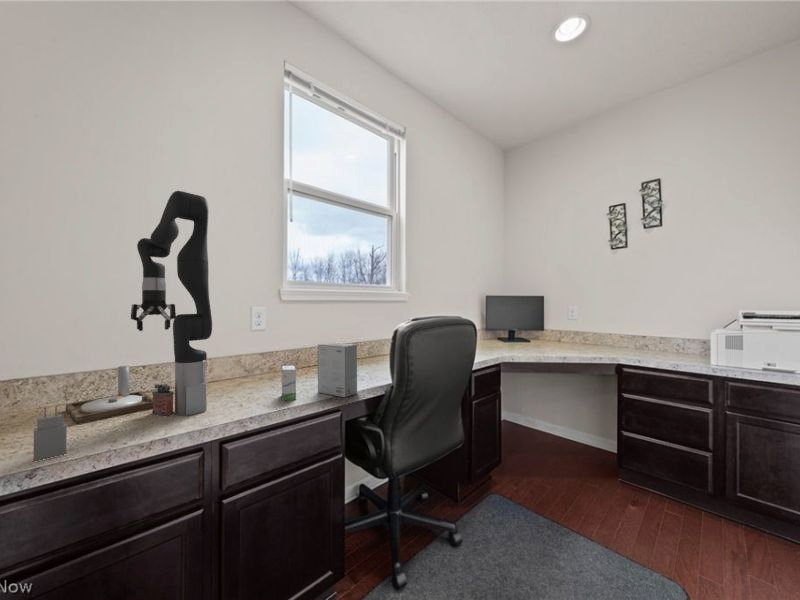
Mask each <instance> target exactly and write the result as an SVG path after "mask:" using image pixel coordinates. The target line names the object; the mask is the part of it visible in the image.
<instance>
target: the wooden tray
mask: <svg viewBox="0 0 800 600" xmlns="http://www.w3.org/2000/svg"><path fill="white" fill-rule="evenodd" d="M129 395H137V396H141V397H142V403H140V404H137V405H132V406H127V407H122V408H117V409H112V410H107V411H102V412H97V413H92V414H89V413H83V412H81V406H82V405H83V404H85V403H88V402H91V401H94V400H98V399H103V398H108V397H115V396H118V394H117V395H110V396H105V397H99V398H95V399H88V400H83V401H77V402H70V403H66V404H65V412H66V411H67V412H68V413H67V412H66V413H67V414H68V416H69V415H70V416H69V417H70V418H71V419H73V420H72V421H73V422H74V424H75V425H76V426H78V425H82V424H87V423H90V422H96V421H100V420H106V419H110V418H114V417H119V416H124V415H128V414H129V415H130V414H133V413H137V412H143V411H149V410H153V396H151V395H149V394H147V393H146V392H143V391H142V390H141V391H134V392H129ZM77 424H78V425H77Z"/></svg>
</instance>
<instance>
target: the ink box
mask: <svg viewBox="0 0 800 600" xmlns="http://www.w3.org/2000/svg"><path fill="white" fill-rule="evenodd" d="M296 371H297V369H296V367H295V365H282V366H281V397H282V401H283V402H285V400H287V401H293V400H294V399H295V400H297V381H296V380H297V374H296V373H297V372H296ZM295 400H294V401H295Z"/></svg>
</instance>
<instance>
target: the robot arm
mask: <svg viewBox="0 0 800 600" xmlns="http://www.w3.org/2000/svg"><path fill="white" fill-rule="evenodd" d="M209 213H210V212H209V202H208V201H207V198H206V197H205V196H202V195H199V194H195V193H190V192H186V191H181V190H175V191H174V192H172V193H171V194H170V196H169V198H168V200H167V203H166V204H165V207H164V210H163V213H162V216H161V218H160V220H159V222H158V225H157V226H156V227H155V229H154V230H153V231H152V232H151V234H150V238H147V237H143V238H140V239H139V241H138V242H137V244H136V245H137V246H136V247H137V252H138V255H139V257H140V260H141V264H142V284H141V285H142V286H141V289H142V291H141V297H142V298H141V303H140V304H137V303H133V304H132V305H131V312H130V320H133V321H135V322H136V330H138V331H139V332H143V330H144V327H143V320H145V318H146V317H147V316H153V315H156V316H159V315H161V317H163V319H165V320H164V330H165V331H167V330H169V329H171V321H172V320H173V323H172V336H173V338H172V339H173V354H174V414H175V415H178V416H185V417H187V416H191V415H192V416H193V415H195V414H199V413H200V414H201V413H205V412H206V411H207V407H208V406H207V405H208V404H207V401H208V399H207V398H208V397H207V393H208V392H207V389H208V388H207V384H208V383H207V381H208V380H207V376H208V375H207V372H208V370H207V369H208V368H207V366H208V364H207V363H208V361H207V360H208V359H207V358H208V357H207V356H208V353H207V352H206V351H205V350H201V349H198V348H197V349H196V348H195V347H192V346H191V345H190V342H191V341H204V340H205V341H206V340H208V339H209V338H210V337H211V335H212V333H213V320H212V310H211V303H210V302H211V301H210V288H209V256H208V228H209ZM176 219H181V220H185V221H186V220H187V221H190V222H193V229H192V233H191V236H190V237H189V238H188V240H187V241H186V242H185V243H184V245H183V247H181V249H180V250H179V252H178V254H177V257H176V269H177V270H176V274H177V278H178V279H179V281H180V283H181V284H182V285H183V287H184V288H185V289H186V291H187V292H188V293H189V295H190V296H191V298H192V300H193V303H194V305H195V310H196V313H181V314H176V313H177V312H176V304H174V303H170V304H167V302H166V301H167V298H166V295H167V293H166V292H167V291H166V290H167V286H166V284H167V283H166V266H165V264H162V263H161V262H160V263H159V262H156V261H154V260H153V258H158V259H159V258H162V259H165V258H167V257H168V256H169V255H170V254H171V248H172V245H173V243H174V242H175V241H176V239H177V238H178V236H179V233H180V231H179V226H178V223H177V222H176ZM140 308H141V309H142V312H141V313H140V314H139V316H138V317H137V314H138V311H139V310H140ZM166 309H168V310H169V315H168V313H167V312H166V311H165V310H166Z"/></svg>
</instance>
